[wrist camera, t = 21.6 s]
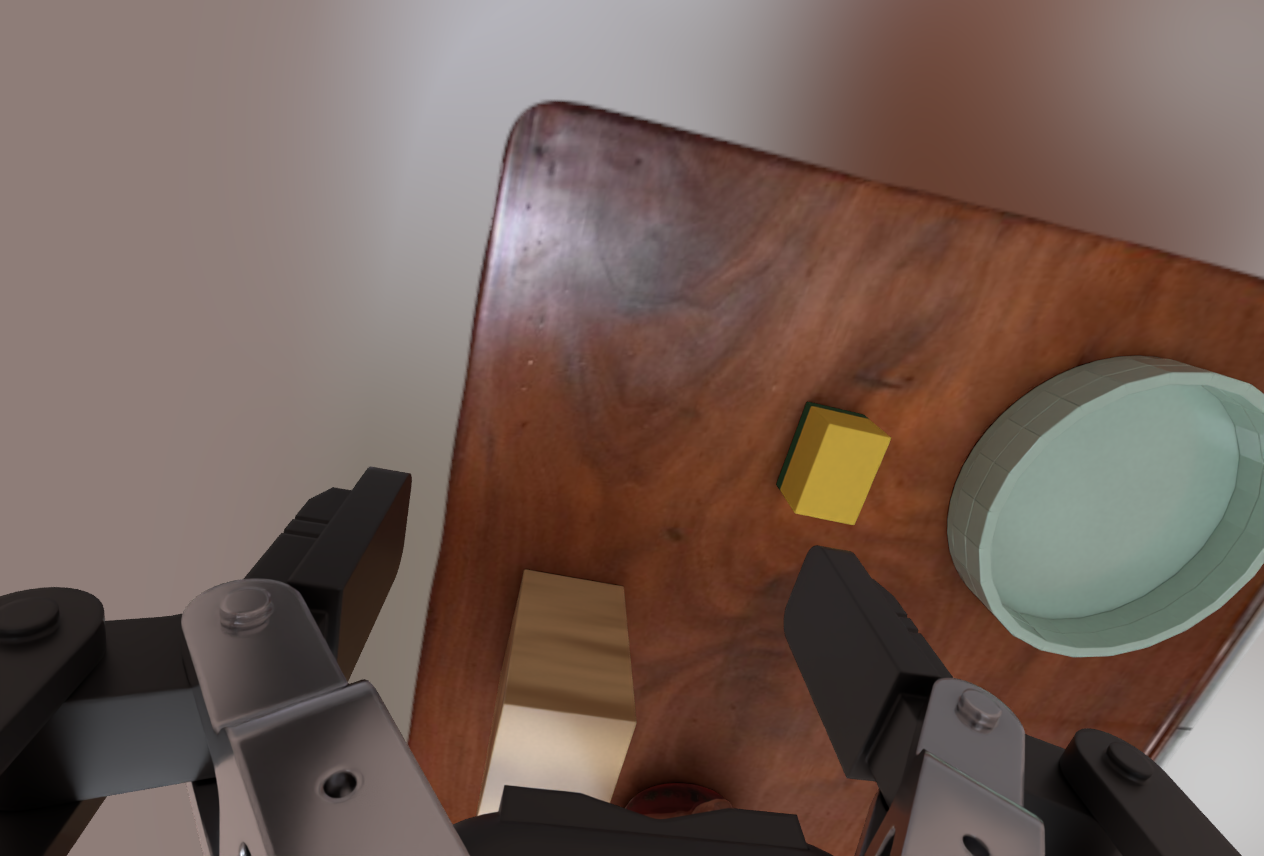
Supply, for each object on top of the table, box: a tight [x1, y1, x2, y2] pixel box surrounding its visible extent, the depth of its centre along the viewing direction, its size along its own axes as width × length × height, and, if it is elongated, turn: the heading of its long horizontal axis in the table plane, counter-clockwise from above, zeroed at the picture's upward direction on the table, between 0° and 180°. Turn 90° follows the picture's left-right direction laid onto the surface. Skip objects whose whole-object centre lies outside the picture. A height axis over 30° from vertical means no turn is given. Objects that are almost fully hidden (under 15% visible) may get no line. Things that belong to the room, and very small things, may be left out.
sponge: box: [776, 402, 891, 525], centre depth 39 cm, size 6×4×4 cm, turn 165°
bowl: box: [947, 355, 1264, 657], centre depth 42 cm, size 21×21×4 cm
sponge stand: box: [476, 569, 637, 816], centre depth 39 cm, size 9×7×12 cm
